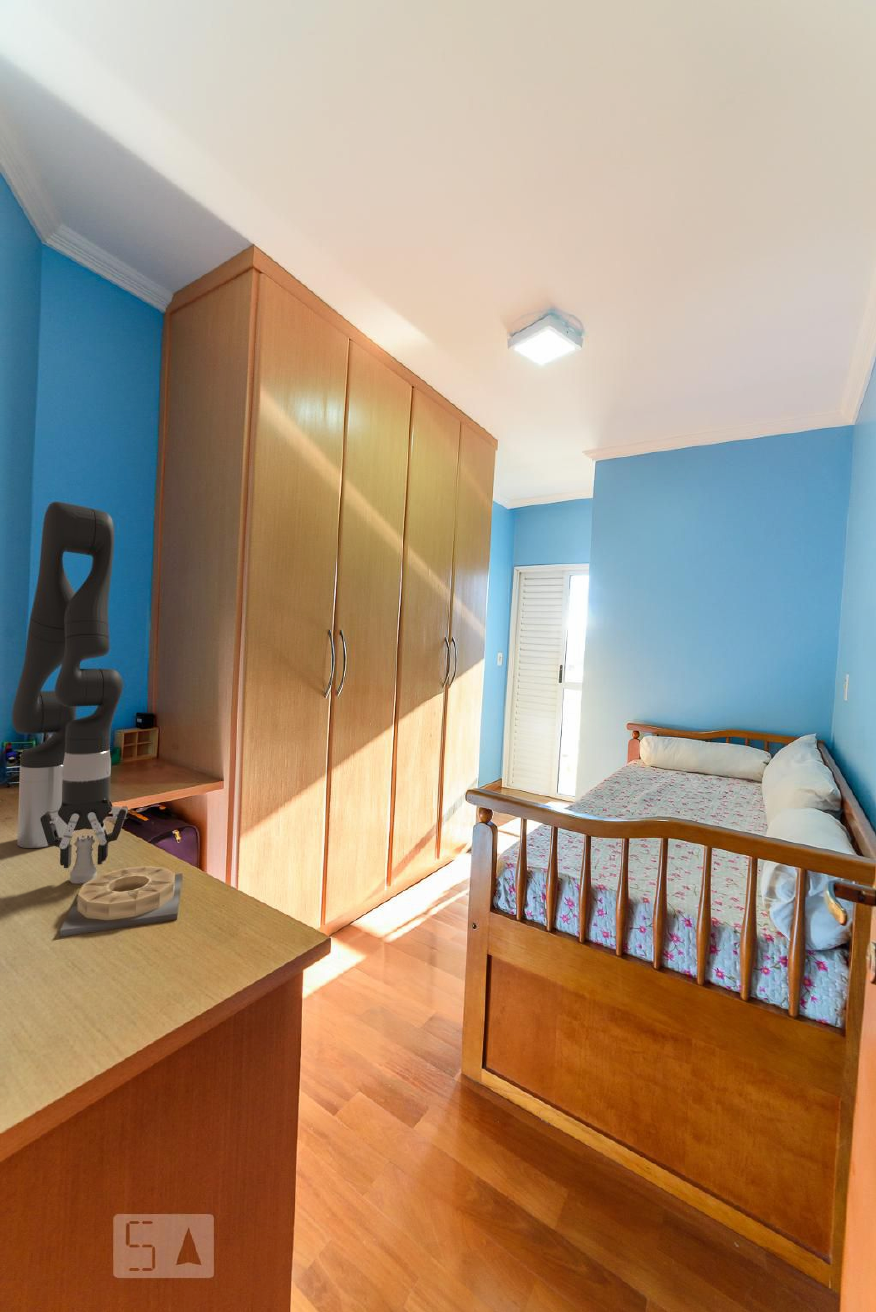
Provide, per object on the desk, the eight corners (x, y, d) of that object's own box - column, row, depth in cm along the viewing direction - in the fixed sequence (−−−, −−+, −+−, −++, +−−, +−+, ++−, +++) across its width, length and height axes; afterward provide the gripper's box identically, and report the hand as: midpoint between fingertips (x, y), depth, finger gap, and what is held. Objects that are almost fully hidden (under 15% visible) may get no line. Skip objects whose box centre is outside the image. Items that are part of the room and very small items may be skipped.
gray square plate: (83, 890, 94) (84, 870, 94) (182, 878, 101) (183, 859, 101) (59, 936, 80) (60, 913, 80) (177, 919, 86) (177, 897, 86)
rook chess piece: (83, 886, 96) (84, 842, 96) (62, 883, 97) (64, 840, 97) (103, 876, 100) (104, 834, 100) (83, 873, 101) (85, 832, 101)
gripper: (133, 768, 104) (130, 853, 105) (46, 772, 99) (43, 861, 99) (127, 777, 98) (124, 868, 98) (34, 782, 92) (31, 878, 92)
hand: (84, 864), depth 98 cm, fingers open, 4 cm apart
